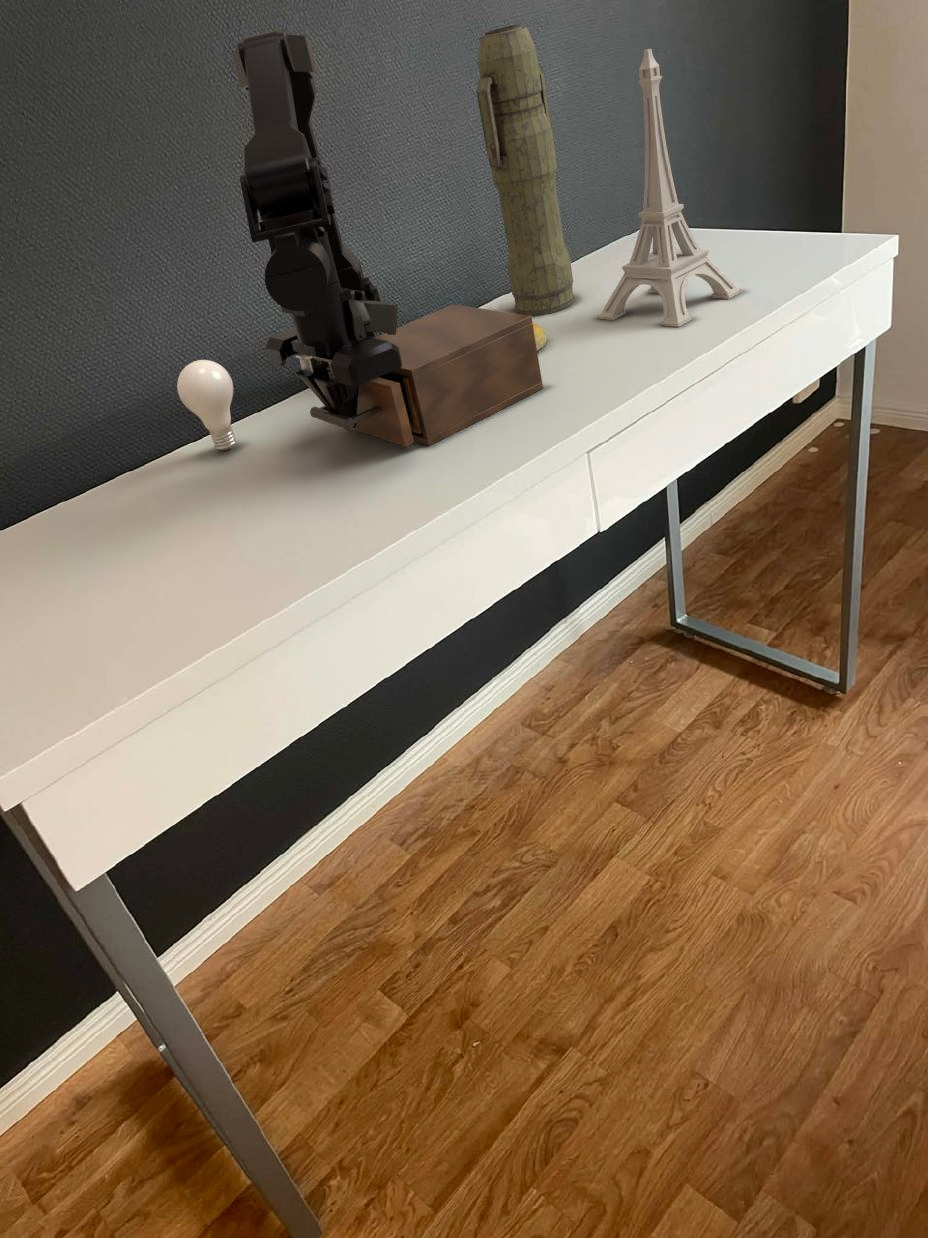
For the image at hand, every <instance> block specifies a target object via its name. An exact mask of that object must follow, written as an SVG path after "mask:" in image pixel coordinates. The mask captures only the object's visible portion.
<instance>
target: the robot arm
mask: <svg viewBox="0 0 928 1238" xmlns="http://www.w3.org/2000/svg"><path fill="white" fill-rule="evenodd" d="M231 58H232V62H233V65H234V69H235V73H236V77H237V81H238V84H239V87H240V91H242V92H244V93H245V94H246V95H248V97H249V104H250V113H251V120H252V121H251V122H252V128H253V131H252V132H253V136H252V137H251V138H250V140H249V141H248V142H247V143H246V144H245V146H244V148H243V150H242V160H243V173H242V174H240V175H239V183H240V187H241V193H242V199H243V203H244V208H245V214H246V218H247V224H248V229H249V234H250V238H251V242H252V243H258V242H263V241H268V245H269V246H270V257H269V259H268V261H267V263H266V266H265V270H264V284H265V288H266V290H267V293H268V294H269V296H270V297H271V298H272V300H273V301H274V302H275V303H276V304H278V305H279V306H280V310H281V312H282V314H283V313H284V314H288V315H290V317H291V321H292V324H293V327H292V328H290V329H286V330H285V331H282V332H279V333H277V334H275V335H272V336H269V337H268V339H267V343H266V345H265V352H266V356H267V358H268V362H269V364H271V365H273V366H277V367H280V368H281V367H284V366H286V364H287V361H288V360H287V359H288V358H290V357H292V356H294V357H295V358H296V359H298V362H299V366H300V368H301V369H300V370H297V372H296V373H295V374H296V376H297V378H298V379H300V380H301V381H303V383H304V384H305V385H306V386H307V387H308V388H309V390H310V391H311V392H312V393H313V394H314V395H315V396H316V397H317V398H318V400H319V401H320V402H321V403H322V404H323V406H324V405H325V406H326V407H327V409H328V410H329V411H331V412H334V413H337V414H340V415H343V416H346V417H349V418H351V417H353V416H356V415H357V404H358V391H359V385H362V384H364V383H366V382H369V381H371V380H373V379H376V378H378V377H380V376H382V375H385V374H387V373H389V372H392V371H394V370H396V369H399V368H401V367H402V360H401V356H400V352H399V348H398V347H397V346H396V345H394V344H392V343H391V342H389V341H385V340H380V339H375V337H376V334H375V333H383V334H384V333H387V334H389V335H396V328H398V327H397V325H398V309H399V308H398V307H399V304H398V303H390V302H384V301H382V300H381V297H380V294H379V290H378V287H377V286H376V285H374V284H373V282H372V281H371V279H370V277H369V276H365V275H364V271H363V268H362V263H361V261H360V260H359V258H358V257H356V255H354V254H353V253H352V252H351V251H350V250H349V248H347V246H346V245H344V243H343V239H342V235H341V231H340V227H339V224H338V220H337V217H336V211H335V204H334V199H333V194H332V188H331V183H330V178H329V177H330V176H329V172H328V170H327V168H326V167H325V166H323V164H322V159H321V156H320V152H319V148H318V145H317V141H316V140H317V139H316V137H315V134H314V129H313V126H312V125H313V124H312V122H311V121H312V120H311V116H312V112H313V109H314V108H313V107H314V102H315V97H316V94H317V89H316V85H315V81H314V79H316V78H318V77H319V76H318V70H317V65H316V60H315V57H314V52H313V50H312V46H311V44H310V41H309V40H308V38H307V36H306V35H299V34H297V33H291V34H287V33H286V32H285V31H279V30H277V29H274V30H271V31H267V32H262V33H257V34H253V35H250V36H245V37H243V38H242V40H241V41H238V42H237V48H236V49H235V50H233V51H232V52H231ZM258 212H259V214H258ZM259 216H260V217H259ZM259 218H260V222H259ZM355 427H356V423H355V425H354V427H353V428H352V429H346V428H343V429H344V430H347V431H351V430H355V429H354V428H355Z"/></svg>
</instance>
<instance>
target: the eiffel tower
mask: <svg viewBox="0 0 928 1238" xmlns="http://www.w3.org/2000/svg"><path fill="white" fill-rule="evenodd" d="M638 73H639V74H638V75H639V80H638V81H637V84H638V85H639V86H640V87H641V90H642V98H643V115H644V116H643V117H644V119H643V120H644V181H643V182H644V183H643V205H642V211H640V212H638V213H637V214H638V215H637V216H638V218H640V219H641V222H640V225H639V230H638V233H637V237H636V241H635V245H634V247H633V251H632V254H631V257H630V260H629V263H627V264H624V265H622V266H621V269H622V270H623V272H624V273H623V275H622V277H621V278H620V280H619V282H618V283H617V285H616V287H615V288H614V290H613V292H612V294H611V295H610V297H609V299H608V300H607V302H606V304H605V305H604V307H603V309H602V311H601V312H600V314H598V315H597V319H599V320H608V321H615V320H616V319H619V318H620V317H622V316H625V315H626V314H627V310H625V306H626V303H627V302H628V300H629V297H630V296H631V294H632V293H633V292H634V291H635V290H636V289H637V288H639V286H641V285H645V286H646V285H647V286H650V288H649V289H648V290H647V291H648V292H647V293H648V294H659V296H660V298H661V302H662V305H663V321H661V322H660V323H661V326H664V327H665V326H666V327H673V328H680V327H681V326H683V325H686V323H689V322H690V321H692V316H690V314H689V311H688V309H687V306H686V297H685V295H686V286H687V285H688V282H689V280H690V279H691V278H692V277H693V276H696V277H698V278H700V279H702V280H704V282H706V283H707V284H708V285H709V287H711V289H712V292H713V293H712V294H711V298H714V299H726V300H730V299H731V298H733V297H735V296H737V295H739V294H740V293H742V288H738V286H736V284H734V282H732V280H731V279H730V278H729V277H727V275H725V273H724V272H722V271H721V270H720V268H719V267H717V266H716V265H715V264H714V263H713V262H712V261H711V260H710V259H709V258H708V255H709V251H710V250H709V249H701V248H700V246H699V244H698V242H697V241H696V239H695V237H694V236H693V233H692V232H691V230H690V228H689V226H688V223H687V222H686V219H685V217H684V215H683V212H682V210H683V209H685V205H684V203H679V200H678V196H677V191H676V187H675V182H674V178H673V173H672V167H671V163H670V157H669V152H668V146H667V141H666V134H665V126H664V121H663V119H664V118H663V113H662V103H661V95H660V83H661V81H662V80H663V75H661V71H660V64H659V63H658V62H657V61H656V59H655V57H654V54H653V48H648V49H644V50H643V57H642V61H641V65H640V66H639V68H638ZM675 240H676V242H675ZM675 243H677V245H678V247H679V248H676V245H675ZM651 247H652V251H651Z"/></svg>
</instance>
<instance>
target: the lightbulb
mask: <svg viewBox="0 0 928 1238" xmlns="http://www.w3.org/2000/svg"><path fill="white" fill-rule="evenodd" d="M176 383H177V384H176V390H177V394H178V397H179V400H180V401H181V403H182V405H183V406H184V407H185V408H186V409H187V410H189V412H191V413H192V414H194V416H196V417H198V418H199V420H200V421H201V422H202V424H203V427H204V428H206V429H207V430H208V432H209V435H210V437H211V440H212V443H213V446H214V449H216V450H220V451H225V452H226V451H230V450H231V449H232V448H233V447H234V446H235V445H236V444H237V439H236V436H235V433H234V429H233V428H232V427H233V426H232V423H231V421H232V415H231V404H232V401H233V397H234V392H235V391H234V382H233V379H232V376H231V375H230V373H229V372H228V370H227V369H226V368H225V367H224V366H223V365H221V364H220V363H218V362H217V361H216V362H215V361H213V360H211V359H210V360H209V359H197V360H194V361H191V362H190V363H188V364H187V365H186V366H185V367H184V368H183V369H182V370H181V371H180V373H179V375H178V377H177V381H176Z"/></svg>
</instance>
